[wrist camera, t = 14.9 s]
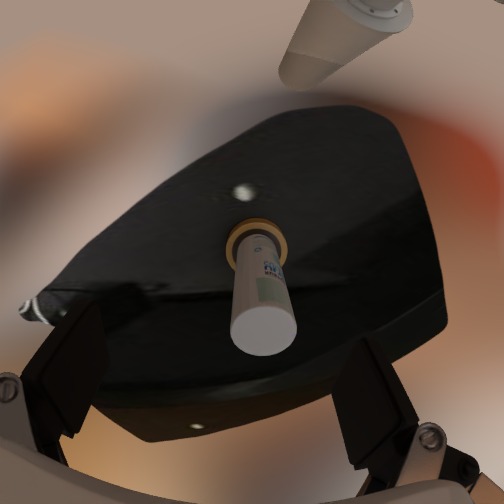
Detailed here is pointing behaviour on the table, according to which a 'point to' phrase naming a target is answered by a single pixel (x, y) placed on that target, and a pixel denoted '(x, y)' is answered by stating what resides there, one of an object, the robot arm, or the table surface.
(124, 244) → the table surface
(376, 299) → the table surface
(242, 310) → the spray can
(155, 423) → the table surface
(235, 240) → the stand
